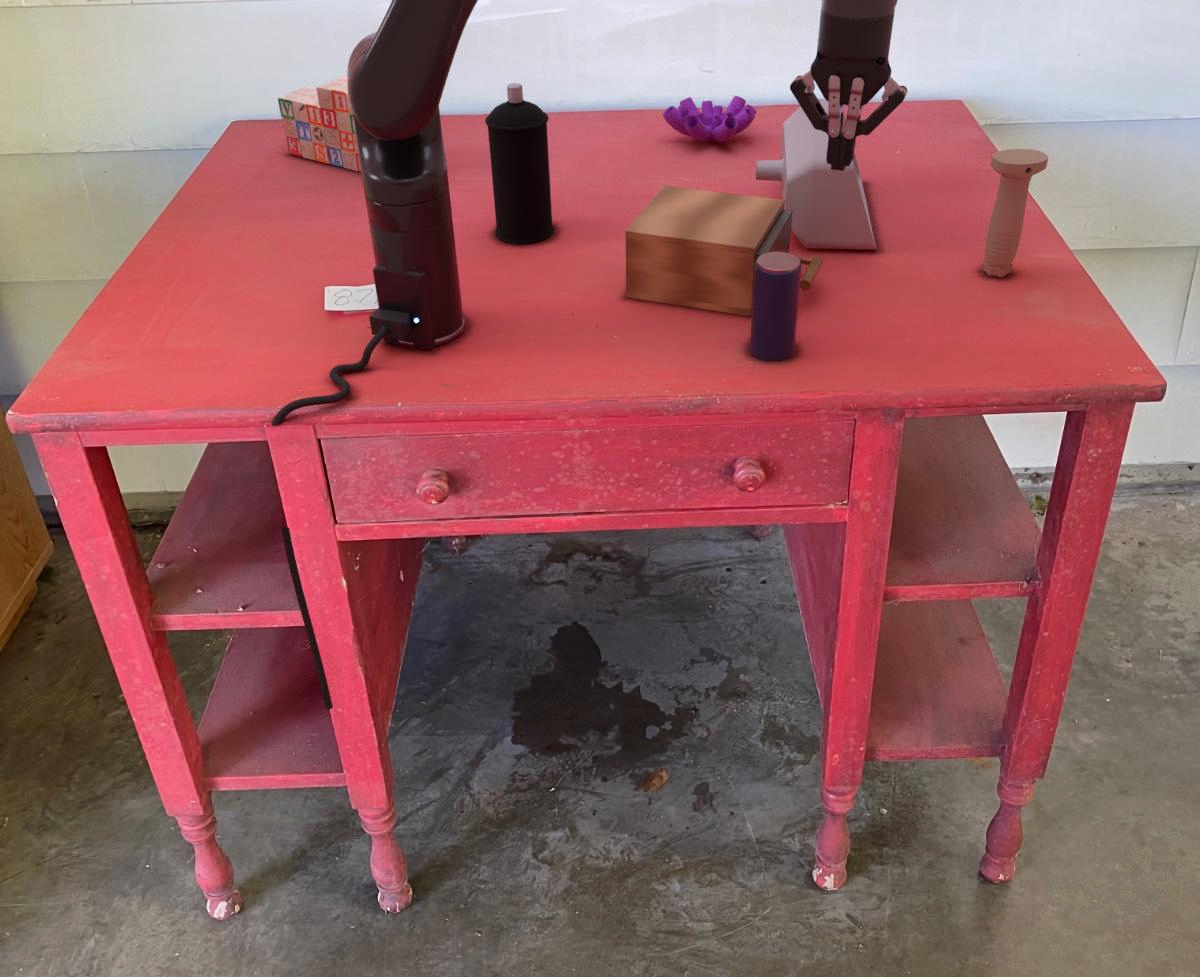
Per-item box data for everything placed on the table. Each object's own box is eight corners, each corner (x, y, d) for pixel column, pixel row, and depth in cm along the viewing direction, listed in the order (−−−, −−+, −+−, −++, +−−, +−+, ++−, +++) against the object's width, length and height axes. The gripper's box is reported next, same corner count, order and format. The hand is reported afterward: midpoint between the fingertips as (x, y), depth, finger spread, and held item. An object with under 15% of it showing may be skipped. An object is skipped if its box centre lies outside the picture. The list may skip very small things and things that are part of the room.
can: (788, 364, 124) (796, 273, 118) (744, 357, 126) (750, 267, 119) (798, 343, 128) (806, 254, 121) (755, 336, 130) (761, 248, 123)
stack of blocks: (287, 155, 181) (272, 77, 174) (315, 143, 185) (301, 66, 178) (387, 179, 171) (375, 98, 164) (414, 166, 176) (403, 86, 168)
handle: (1029, 278, 140) (1055, 161, 131) (981, 283, 139) (1004, 166, 130) (1010, 261, 143) (1035, 146, 134) (963, 267, 142) (985, 151, 134)
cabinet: (780, 264, 144) (785, 199, 139) (750, 316, 133) (754, 248, 128) (663, 248, 149) (664, 185, 144) (626, 297, 138) (625, 230, 133)
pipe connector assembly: (754, 163, 182) (761, 128, 173) (662, 164, 182) (664, 130, 173) (752, 103, 185) (758, 66, 176) (661, 104, 186) (663, 67, 176)
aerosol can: (546, 246, 150) (537, 96, 139) (487, 243, 152) (474, 94, 140) (560, 222, 157) (553, 76, 145) (504, 218, 158) (492, 74, 146)
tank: (753, 179, 168) (758, 95, 160) (862, 181, 166) (872, 96, 159) (753, 251, 148) (759, 158, 140) (877, 253, 146) (889, 160, 139)
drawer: (826, 266, 142) (832, 214, 137) (802, 314, 131) (807, 260, 127) (679, 246, 147) (680, 196, 143) (646, 291, 137) (646, 238, 133)
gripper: (787, 9, 115) (773, 172, 126) (917, 19, 111) (892, 187, 122) (803, -8, 121) (789, 150, 131) (928, 2, 117) (903, 163, 127)
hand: (839, 167), depth 126 cm, fingers closed
